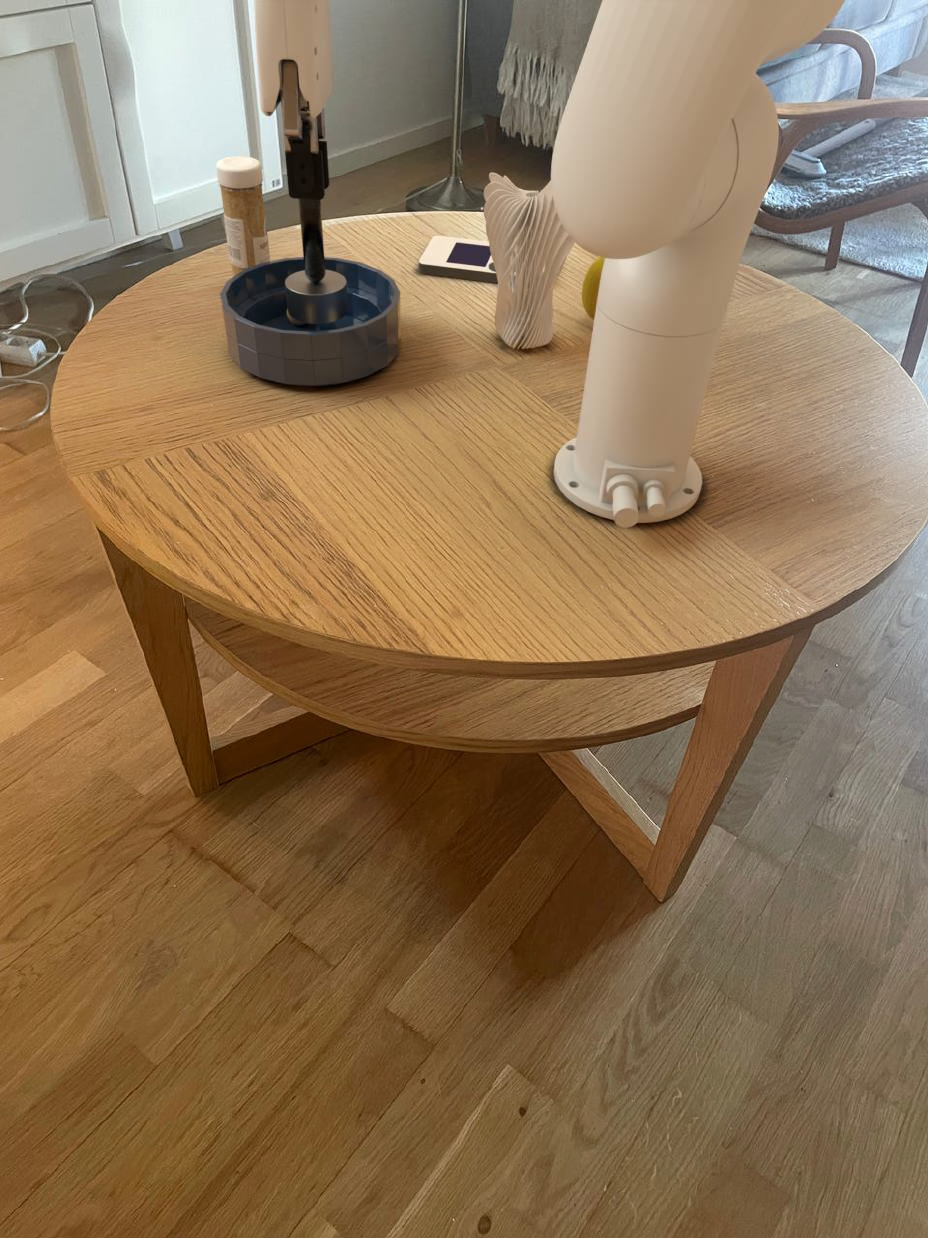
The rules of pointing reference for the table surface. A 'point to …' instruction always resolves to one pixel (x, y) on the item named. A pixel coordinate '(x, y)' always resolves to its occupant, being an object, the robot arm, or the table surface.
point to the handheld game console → (459, 259)
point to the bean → (294, 320)
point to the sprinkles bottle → (243, 211)
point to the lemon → (592, 287)
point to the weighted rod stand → (315, 275)
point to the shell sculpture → (524, 259)
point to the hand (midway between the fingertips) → (309, 190)
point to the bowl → (311, 325)
